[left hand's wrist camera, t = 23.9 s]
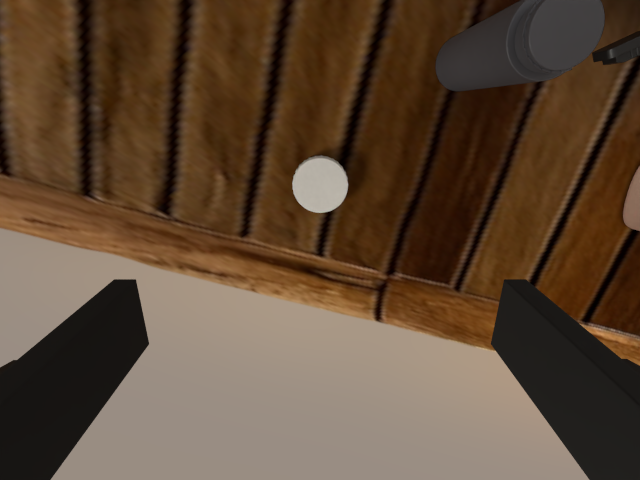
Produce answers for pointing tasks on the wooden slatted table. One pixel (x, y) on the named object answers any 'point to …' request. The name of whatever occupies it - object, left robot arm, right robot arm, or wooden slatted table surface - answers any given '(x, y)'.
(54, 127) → the wooden slatted table surface
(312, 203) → the lid
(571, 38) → the jar
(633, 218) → the anatomical model
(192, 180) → the wooden slatted table surface
